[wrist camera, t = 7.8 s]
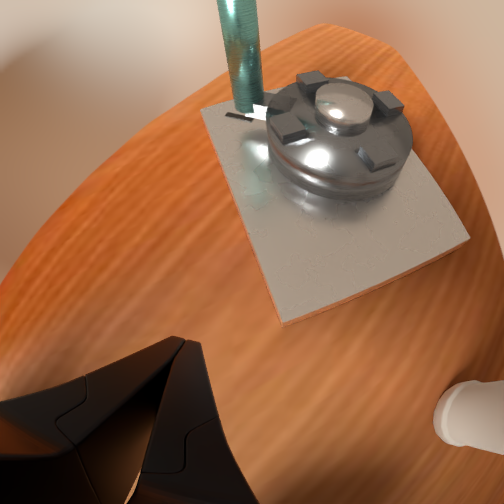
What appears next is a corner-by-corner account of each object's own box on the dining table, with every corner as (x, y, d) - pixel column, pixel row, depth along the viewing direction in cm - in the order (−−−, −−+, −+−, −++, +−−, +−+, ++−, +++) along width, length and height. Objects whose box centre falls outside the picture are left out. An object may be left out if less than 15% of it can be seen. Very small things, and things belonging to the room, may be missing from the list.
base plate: (459, 247, 21) (471, 237, 20) (282, 327, 20) (282, 322, 19) (344, 89, 30) (346, 75, 28) (203, 123, 29) (199, 108, 27)
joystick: (406, 124, 24) (450, -24, 9) (392, 222, 20) (492, 18, 5) (260, 84, 28) (245, -60, 13) (205, 162, 24) (147, -29, 9)
